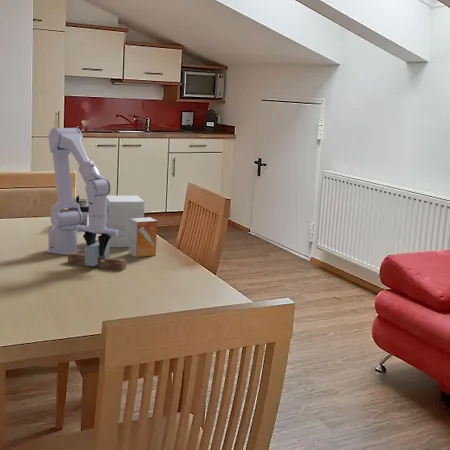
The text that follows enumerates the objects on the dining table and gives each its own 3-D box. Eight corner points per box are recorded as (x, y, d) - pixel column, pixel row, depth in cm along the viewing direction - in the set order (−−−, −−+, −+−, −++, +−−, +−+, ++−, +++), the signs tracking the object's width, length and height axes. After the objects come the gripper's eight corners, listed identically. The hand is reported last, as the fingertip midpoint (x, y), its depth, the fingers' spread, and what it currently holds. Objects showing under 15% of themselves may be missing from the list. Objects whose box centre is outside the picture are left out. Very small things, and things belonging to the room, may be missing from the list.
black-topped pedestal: (59, 219, 283) (59, 189, 280) (118, 223, 283) (119, 193, 280) (39, 233, 256) (39, 200, 253) (105, 238, 255) (105, 205, 253)
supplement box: (137, 238, 256) (138, 195, 253) (143, 246, 244) (145, 201, 241) (103, 239, 252) (104, 195, 248) (108, 247, 240) (109, 201, 236)
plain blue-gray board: (84, 265, 212) (85, 247, 210) (101, 257, 223) (101, 240, 222) (93, 266, 211) (93, 248, 210) (109, 258, 222) (109, 241, 221)
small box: (136, 257, 229) (137, 222, 226) (128, 253, 234) (129, 218, 231) (156, 255, 233) (157, 220, 230) (148, 251, 238) (149, 216, 236)
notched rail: (67, 262, 218) (67, 253, 217) (72, 260, 221) (72, 251, 220) (122, 270, 213) (122, 261, 212) (126, 268, 216) (126, 258, 215)
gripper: (71, 214, 211) (71, 254, 214) (112, 219, 207) (111, 260, 210) (82, 211, 218) (81, 250, 221) (121, 215, 214) (120, 255, 217)
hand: (96, 254), depth 216 cm, fingers closed on plain blue-gray board, 3 cm apart
